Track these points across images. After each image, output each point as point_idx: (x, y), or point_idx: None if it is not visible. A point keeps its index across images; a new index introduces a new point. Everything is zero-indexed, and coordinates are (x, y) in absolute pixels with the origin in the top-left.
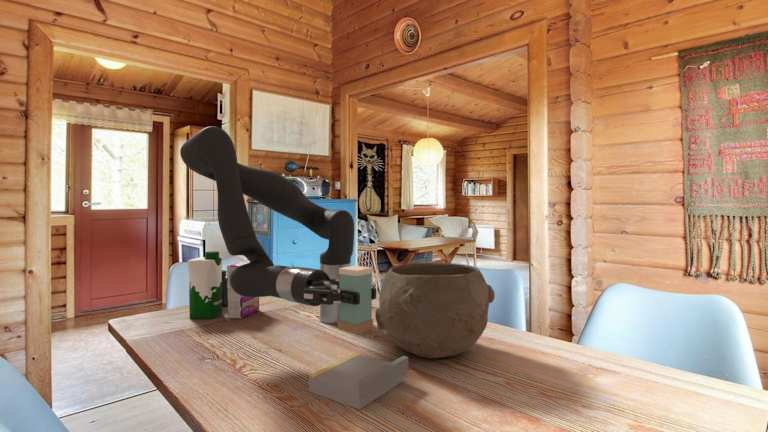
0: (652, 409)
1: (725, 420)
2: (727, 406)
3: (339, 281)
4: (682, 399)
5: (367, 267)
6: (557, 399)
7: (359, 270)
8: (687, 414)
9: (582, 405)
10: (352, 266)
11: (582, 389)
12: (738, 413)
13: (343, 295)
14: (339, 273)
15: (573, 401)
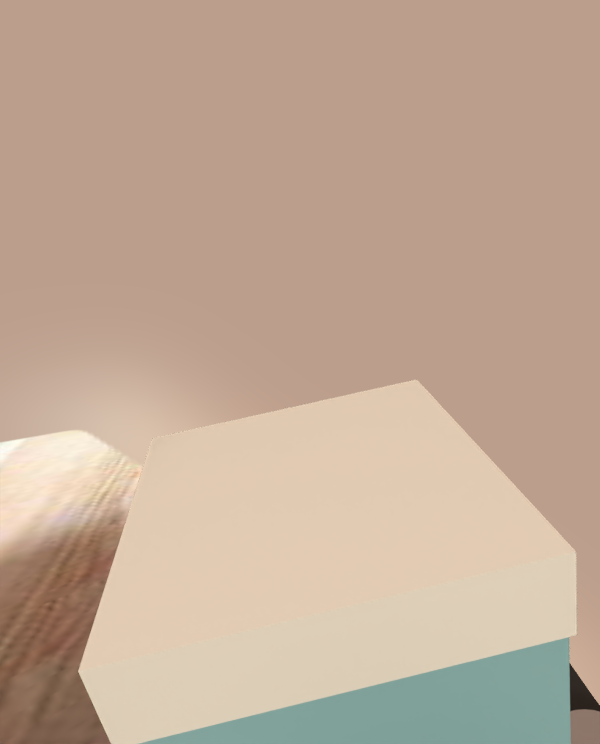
0: (82, 478)
1: (82, 441)
2: (33, 450)
3: (568, 733)
4: (26, 474)
5: (167, 458)
6: (105, 551)
7: (382, 388)
8: (81, 459)
9: (113, 523)
10: (208, 599)
11: (33, 548)
12: (53, 442)
13: (571, 673)
14: (568, 622)
15: (102, 535)
